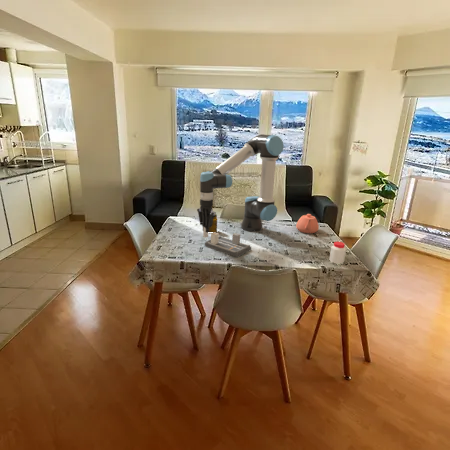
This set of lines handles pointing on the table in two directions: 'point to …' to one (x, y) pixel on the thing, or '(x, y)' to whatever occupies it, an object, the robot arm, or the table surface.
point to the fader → (214, 238)
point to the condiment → (214, 225)
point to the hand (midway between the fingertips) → (205, 236)
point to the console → (230, 245)
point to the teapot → (307, 224)
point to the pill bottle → (337, 252)
